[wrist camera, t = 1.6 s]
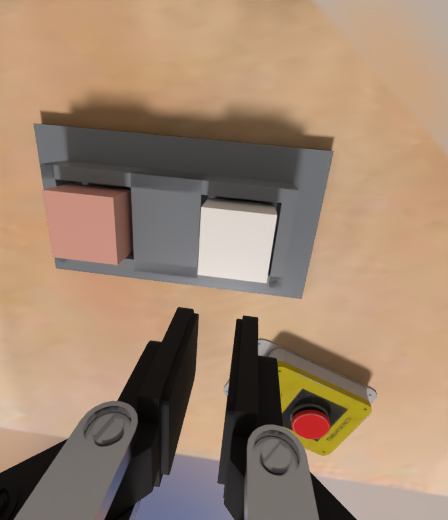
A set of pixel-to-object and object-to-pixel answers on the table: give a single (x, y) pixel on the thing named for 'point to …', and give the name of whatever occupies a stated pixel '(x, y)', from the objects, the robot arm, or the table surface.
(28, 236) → the table surface
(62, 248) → the terracotta key
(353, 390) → the emergency button
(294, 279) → the key panel
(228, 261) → the cream key
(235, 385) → the robot arm
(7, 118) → the table surface
